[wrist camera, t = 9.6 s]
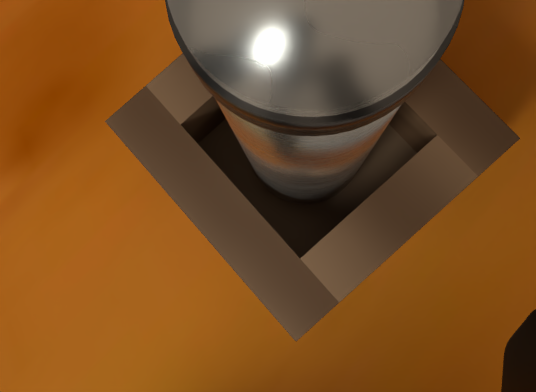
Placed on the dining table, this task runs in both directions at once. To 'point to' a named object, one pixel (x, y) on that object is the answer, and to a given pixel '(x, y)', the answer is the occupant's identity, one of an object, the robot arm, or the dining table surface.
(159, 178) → the socket block
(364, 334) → the dining table surface
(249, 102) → the silver metal can
